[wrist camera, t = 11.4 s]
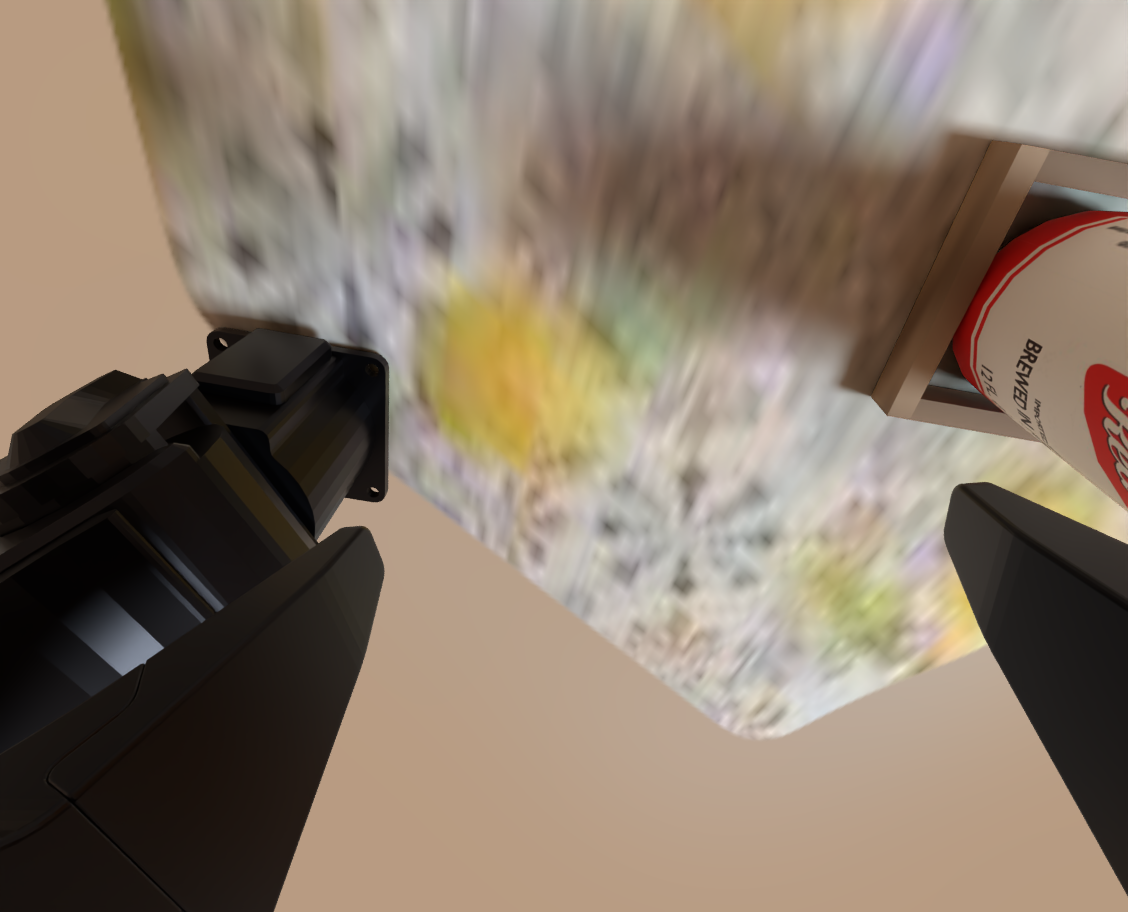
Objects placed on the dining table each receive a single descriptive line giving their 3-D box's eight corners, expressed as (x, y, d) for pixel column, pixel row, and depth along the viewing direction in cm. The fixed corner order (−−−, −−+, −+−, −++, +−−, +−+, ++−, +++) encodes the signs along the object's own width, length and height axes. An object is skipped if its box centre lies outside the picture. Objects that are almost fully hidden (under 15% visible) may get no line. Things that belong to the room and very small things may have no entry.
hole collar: (1092, 435, 22) (1122, 456, 21) (870, 396, 22) (887, 415, 21) (1265, 191, 18) (1316, 199, 17) (992, 140, 18) (1022, 144, 16)
